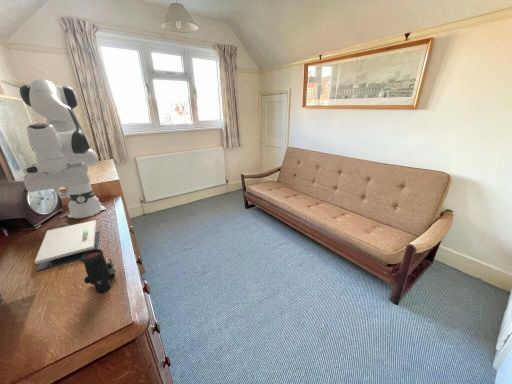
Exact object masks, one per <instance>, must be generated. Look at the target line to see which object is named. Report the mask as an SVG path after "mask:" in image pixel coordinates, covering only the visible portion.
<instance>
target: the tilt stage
mask: <svg viewBox="0 0 512 384" xmlns="http://www.w3.org/2000/svg"><path fill="white" fill-rule="evenodd" d="M96 229H97V221H96V219H95V220H94V219H93V220H91V221H86V222H81V223H77V224H76V223H75V224H71V225H67V226H66V225H65V226H62V227H57V228H52V229H48V230H47V231H46V233H45V235H44V237H43V240H42V242H41V245H40V247H39V250H38V252H37V255H36V256H35V257H36V258H35V259H34V263H35V265H37V264H38V265H39V264H40V263H42V262H46V261H49V260H53V259H57V258H61V257H64V256H68V255H72V254H75V253H79V252H83V251H87V250H90V249H94V242H95V232H97V231H96Z"/></svg>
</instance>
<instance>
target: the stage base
mask: <svg viewBox="0 0 512 384" xmlns="http://www.w3.org/2000/svg"><path fill="white" fill-rule="evenodd" d="M100 234H102V232H101V230H99V231H95V242H94V249H90V250H87V251H83V252H79V253H75V254H72V255H68V256H64V257H61V258H57V259H53V260H49V261H46V262H42V263H38V266H37V268H36V270H35V272H36V273H39V272H43V271H46V270H51V269H53V268H56V267H60V266H64V265H67V264H71V263H74V262H78V261H82V256H83V255H84V254H85V253H87V252H89V251H91V250H95V249H99V248H100V247H99V246H100V240H101V235H100Z"/></svg>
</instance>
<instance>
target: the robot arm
mask: <svg viewBox="0 0 512 384" xmlns="http://www.w3.org/2000/svg"><path fill="white" fill-rule="evenodd" d="M19 96H20V98H21V100H22V101H23V103H24V104H25V105H27V106H28V107H31V108H32V110H33V111H34V112H35V113H36V114H38V115H39V116H41V117H43V118H45V119H46V123H34V124H33V123H32V124H29V125H28V126H26V129H27V135H28V141H29V145H30V147H31V151H33V152H34V153H35V160H36V162H37V163H32V164H31V165H28V166H26V167H24V168H22V173H23V174H25V175H23V182H24V183H23V184H24V187H25V190H26V191H27V192H29V193H33V192H39V191H40V192H41V191H47V190H53V192H54V193H55V194H57V195H58V196H59V198H60V199H65V198H68V199H69V200H70V201H69V202H68V203H67V207H68V209H69V214H68V215H67V217H68V218H70V219H71V218H73V219H85V218H89V217H93V216H95V214H96V215H98V214H100V213H101V212H100V211H102V210H104V209H106V210H107V208H106V207H105V205H104V206H102V205H101V203H102V202H100V200H99V198H98V197H97V196H96V195H95V191H94V189H93V188H92V185H91V178H90V175H89V173H88V172H89V171H88V170H89V169H88V168H90V167H93V166H96V165H97V164H98V163H99V155H98V153H97V152H96V151H95V150H94V149H92V148H91V143H90V140H89V138H88V136H87V135H86V134H85V132H84V130H83V128H82V126H81V124H80V122H79V120H78V118H77V116H76V114H75V112H74V110H73V109H75V108H76V107H77V106H78V105H79V97H78V94H77V92H76V91H75V90H74V88H73V87H71V86H66V85H55V83H53V82H51V81H49V80H47V79H43V78H39V79H35V80H33V81H32V82H31V84H24V85H22V86H21V87H19ZM63 188H64V190H66V191H65V192H61V191H60V189H63ZM104 211H105V210H104ZM99 212H100V213H99ZM102 212H103V211H102ZM97 213H98V214H97Z"/></svg>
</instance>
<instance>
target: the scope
mask: <svg viewBox="0 0 512 384" xmlns="http://www.w3.org/2000/svg"><path fill="white" fill-rule="evenodd" d="M108 260H109V262H107V261H106V258H105V255H104V252H103V249H99V248H98V249H95V250H91V251H89V252H87V253H85V254H84V255H83V256H82V260H81V261H82V262H83V265H84V269H85V272H86V276H85V277H84V278H83V281H84V283H85V284H86V285H87V284H90V285H92V286H93V285H94V289H95V291H96V293H97V294H104V293H107V291H109V290H110V289H111V288H112V285H111V281H110V280H111V279H113V278H115V277H116V272H117V268H116V266H115V262H113V260H112V257H108Z"/></svg>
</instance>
